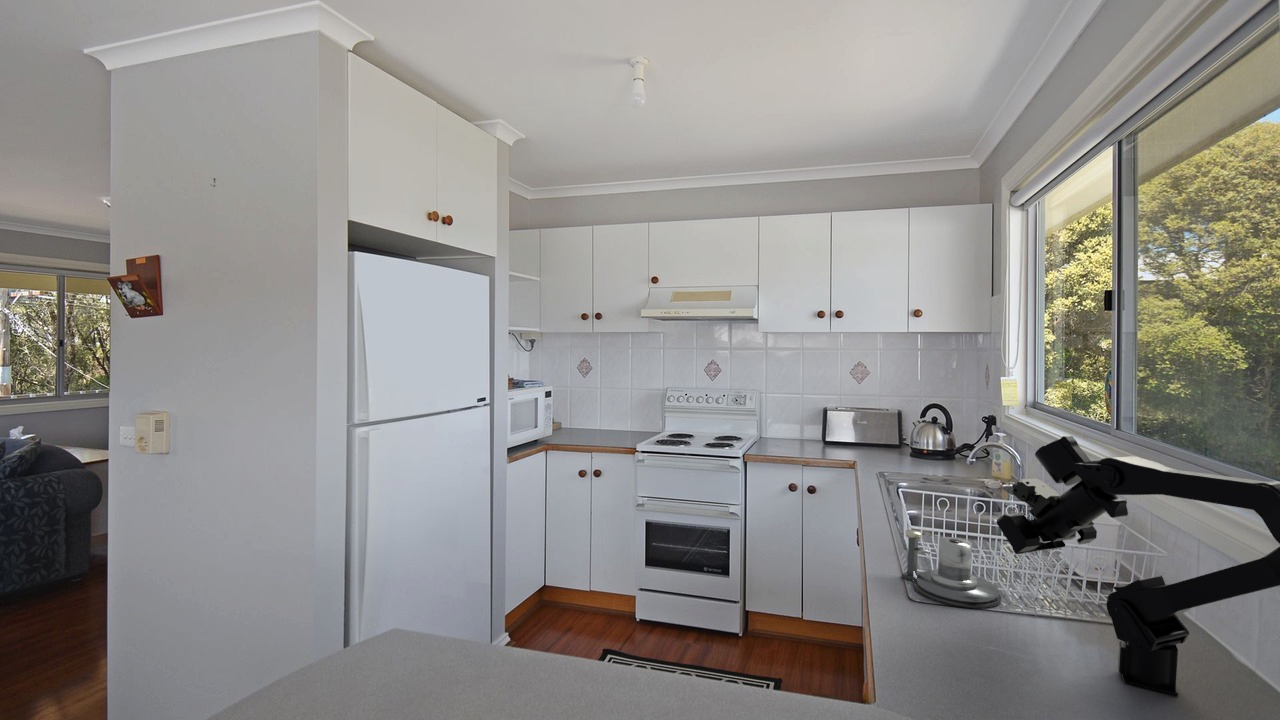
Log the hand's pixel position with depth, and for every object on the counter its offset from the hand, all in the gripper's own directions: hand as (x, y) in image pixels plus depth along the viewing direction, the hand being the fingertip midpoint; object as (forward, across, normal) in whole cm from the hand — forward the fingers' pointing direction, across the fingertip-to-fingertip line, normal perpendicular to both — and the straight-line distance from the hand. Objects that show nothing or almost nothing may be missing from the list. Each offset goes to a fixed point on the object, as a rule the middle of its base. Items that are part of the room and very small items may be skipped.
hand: (1015, 551), depth 121 cm
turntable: (+18, 0, 0) cm, 18 cm away
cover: (+17, 0, -2) cm, 17 cm away
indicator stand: (+23, +2, -6) cm, 24 cm away
